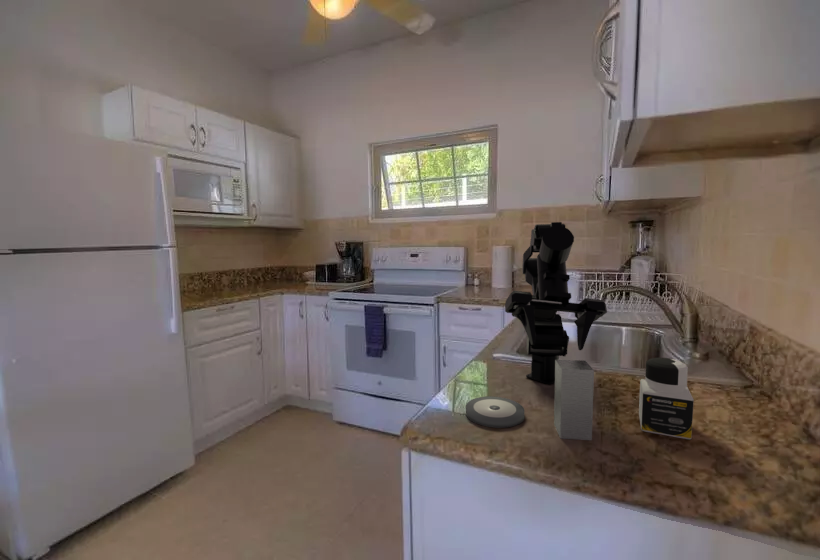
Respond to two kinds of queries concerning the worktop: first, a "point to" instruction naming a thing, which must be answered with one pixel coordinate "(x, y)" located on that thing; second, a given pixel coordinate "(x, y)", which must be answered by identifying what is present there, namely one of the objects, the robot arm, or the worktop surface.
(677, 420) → the medicine bottle
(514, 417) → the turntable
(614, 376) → the worktop surface
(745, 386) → the worktop surface
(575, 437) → the block
